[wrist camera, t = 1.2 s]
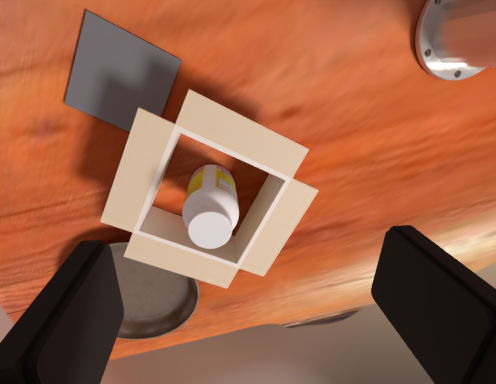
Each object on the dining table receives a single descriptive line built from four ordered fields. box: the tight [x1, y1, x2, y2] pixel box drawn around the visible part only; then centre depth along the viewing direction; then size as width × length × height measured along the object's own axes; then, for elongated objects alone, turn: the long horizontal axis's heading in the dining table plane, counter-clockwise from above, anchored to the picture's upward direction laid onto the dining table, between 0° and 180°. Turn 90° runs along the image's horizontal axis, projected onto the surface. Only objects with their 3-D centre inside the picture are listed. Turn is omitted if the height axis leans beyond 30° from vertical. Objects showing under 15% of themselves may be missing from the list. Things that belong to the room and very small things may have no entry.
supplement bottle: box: [182, 165, 239, 249], centre depth 34 cm, size 7×7×13 cm
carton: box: [100, 89, 319, 288], centre depth 37 cm, size 23×23×7 cm
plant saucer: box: [108, 242, 199, 340], centre depth 45 cm, size 21×21×3 cm
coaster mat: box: [64, 10, 182, 132], centre depth 33 cm, size 11×11×1 cm
